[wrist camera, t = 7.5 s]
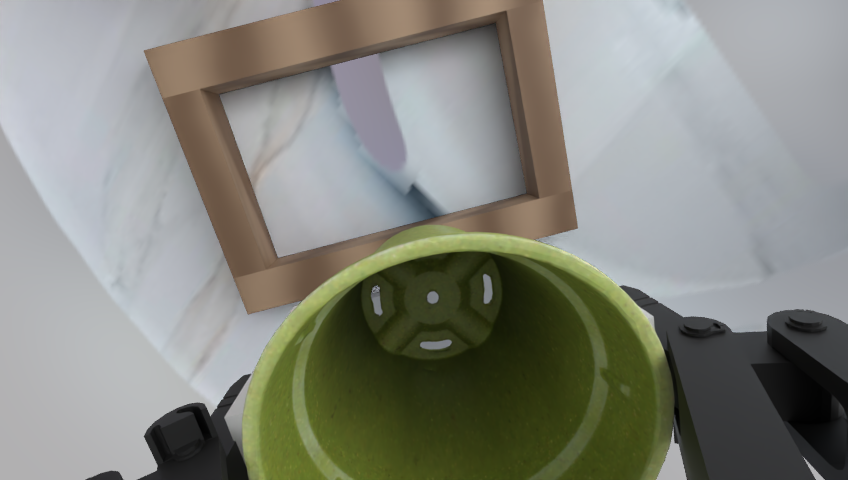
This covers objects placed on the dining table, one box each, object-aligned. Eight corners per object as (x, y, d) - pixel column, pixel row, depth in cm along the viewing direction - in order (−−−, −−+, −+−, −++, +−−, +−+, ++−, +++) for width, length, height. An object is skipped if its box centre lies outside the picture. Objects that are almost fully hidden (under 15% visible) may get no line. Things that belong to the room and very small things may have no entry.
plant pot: (545, 376, 18) (668, 576, 10) (340, 405, 18) (288, 635, 10) (535, 171, 16) (686, 205, 8) (300, 200, 16) (188, 269, 7)
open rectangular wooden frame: (520, -31, 29) (534, -50, 26) (562, 220, 34) (577, 228, 31) (169, 59, 29) (143, 50, 26) (260, 299, 33) (247, 314, 30)
